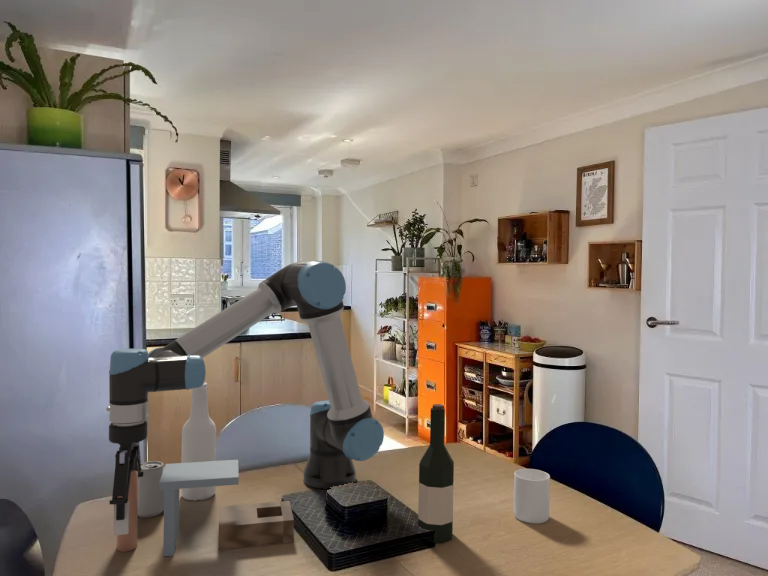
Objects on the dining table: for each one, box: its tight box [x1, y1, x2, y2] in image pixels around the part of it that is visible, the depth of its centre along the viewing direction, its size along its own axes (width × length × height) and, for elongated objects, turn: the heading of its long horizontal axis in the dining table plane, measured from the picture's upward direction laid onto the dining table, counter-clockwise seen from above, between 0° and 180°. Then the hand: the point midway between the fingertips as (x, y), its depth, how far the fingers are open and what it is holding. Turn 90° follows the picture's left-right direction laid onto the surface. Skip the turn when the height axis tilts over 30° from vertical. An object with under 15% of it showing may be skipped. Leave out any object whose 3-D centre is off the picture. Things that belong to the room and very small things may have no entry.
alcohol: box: [180, 381, 217, 502], centre depth 151 cm, size 9×9×30 cm
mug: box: [513, 468, 551, 525], centre depth 143 cm, size 9×12×11 cm
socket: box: [217, 500, 295, 551], centre depth 129 cm, size 16×11×5 cm
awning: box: [159, 459, 240, 557], centre depth 126 cm, size 16×12×16 cm
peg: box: [116, 470, 139, 553], centre depth 122 cm, size 4×4×16 cm
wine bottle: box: [417, 403, 455, 544], centre depth 130 cm, size 8×8×30 cm
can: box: [138, 460, 165, 519], centre depth 140 cm, size 8×8×12 cm
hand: (127, 520), depth 122 cm, fingers open, 13 cm apart
